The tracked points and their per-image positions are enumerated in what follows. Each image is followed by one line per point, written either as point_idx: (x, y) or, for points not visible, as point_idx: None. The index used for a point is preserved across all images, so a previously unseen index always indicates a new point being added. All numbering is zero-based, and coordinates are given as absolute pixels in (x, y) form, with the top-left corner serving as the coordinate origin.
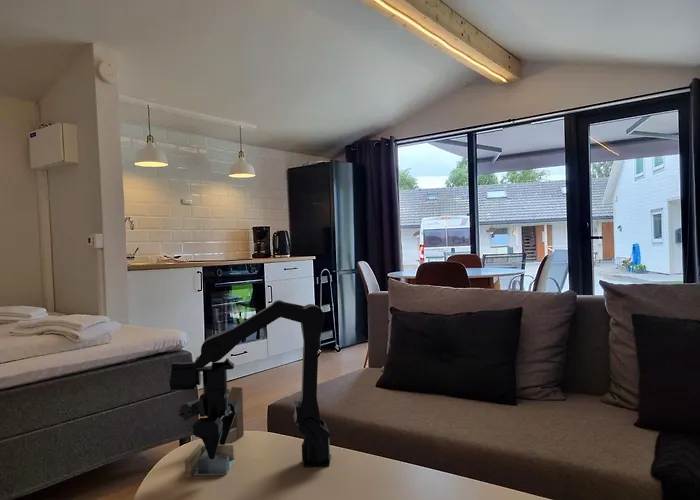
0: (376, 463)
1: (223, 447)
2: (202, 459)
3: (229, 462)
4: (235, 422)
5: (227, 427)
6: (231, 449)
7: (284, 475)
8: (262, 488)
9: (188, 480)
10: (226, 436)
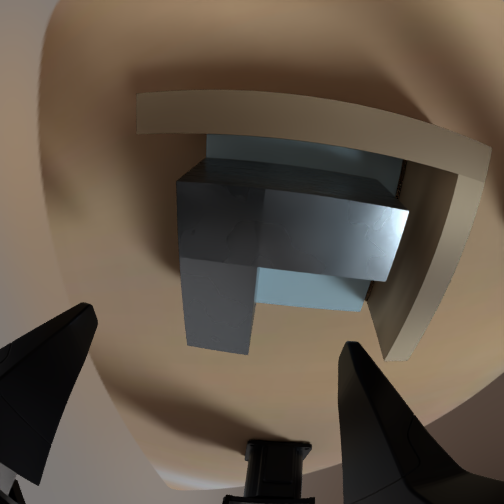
0: None
1: (402, 309)
2: (183, 217)
3: (341, 293)
4: None
5: (349, 480)
6: (381, 336)
7: (201, 414)
8: (122, 374)
9: None
10: (339, 417)
